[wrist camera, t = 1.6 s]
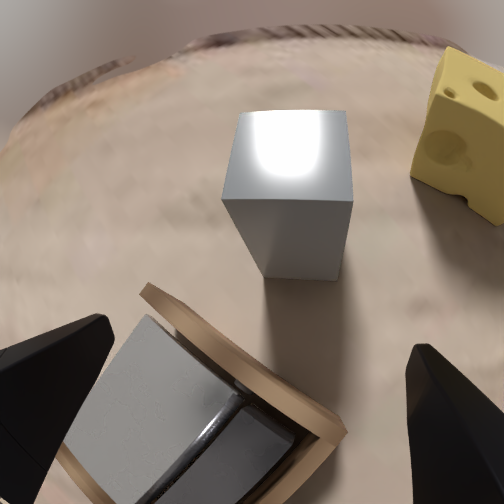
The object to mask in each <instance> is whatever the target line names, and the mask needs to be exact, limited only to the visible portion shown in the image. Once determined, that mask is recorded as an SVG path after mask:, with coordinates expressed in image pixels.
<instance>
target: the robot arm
mask: <svg viewBox="0 0 504 504" xmlns="http://www.w3.org/2000/svg"><path fill="white" fill-rule="evenodd" d="M114 340H115V336H114V333H113V330H112V327H111V324H110V321H109V319H108V317H107V316H106V315H102V314H97V313H96V314H93V315H90V316H87V317H85V318H82V319H80V320H77V321H74V322H72V323H69V324H67V325H64V326H62V327H59V328H56V329H54V330H51V331H49V332H46V333H43V334H41V335H38V336H36V337H33V338H30V339H28V340H25V341H23V342H20V343H17V344H15V345H12V346H10V347H8V348H4V349H2V350H0V498H3V499H4V500H5V501H7V502H8V503H9V504H34V501H35V499H36V497H37V495H38V492H39V490H40V488H41V486H42V484H43V482H44V479H45V477H46V475H47V472H48V470H49V468H50V466H51V464H52V462H53V460H54V458H55V456H56V454H57V452H58V450H59V448H60V446H61V444H62V442H63V440H64V438H65V436H66V434H67V433H68V431H69V429H70V427H71V425H72V423H73V421H74V419H75V418H76V416H77V414H78V412H79V410H80V408H81V407H82V405H83V403H84V401H85V399H86V398H87V396H88V394H89V392H90V391H91V389H92V387H93V385H94V384H95V382H96V380H97V378H98V376H99V374H100V372H101V369H102V367H103V365H104V363H105V361H106V359H107V356H108V354H109V352H110V350H111V348H112V346H113V344H114ZM405 377H406V398H407V427H408V436H409V446H410V456H411V469H412V485H413V504H504V413H503V412H502V411H501V410H500V409H499V408H498V407H497V406H496V405H495V404H494V403H493V402H492V401H491V400H490V399H489V398H488V397H487V396H486V395H485V394H484V393H482V392H481V391H480V390H479V389H478V388H477V387H476V386H475V385H474V384H473V383H472V382H471V381H470V380H469V379H468V378H467V377H465V376H464V375H463V374H462V373H461V372H460V371H459V370H458V369H457V368H456V367H455V366H453V365H452V364H451V363H450V362H449V361H448V360H447V359H446V358H445V357H444V356H442V355H441V354H440V353H439V352H438V351H437V350H436V349H435V348H434V347H432V346H431V345H430V344H427V343H426V344H415V345H414V347H413V349H412V352H411V355H410V358H409V361H408V364H407V367H406V373H405ZM0 504H2V503H1V502H0Z"/></svg>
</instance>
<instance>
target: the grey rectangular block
mask: <svg viewBox="0 0 504 504" xmlns="http://www.w3.org/2000/svg"><path fill="white" fill-rule="evenodd" d="M221 200H222V202H223V203H224V205H225V207H226V209H227V211H228V213H229V215H230V216H231V218H232V220H233V222H234V224H235V226H236V228H237V229H238V231H239V233H240V235H241V237H242V239H243V240H244V242H245V244H246V246H247V248H248V250H249V252H250V253H251V255H252V257H253V259H254V261H255V263H256V264H257V266H258V268H259V270H260V272H261V274H262V276H263V277H266V278H284V279H303V280H324V281H337V279H338V275H339V270H340V266H341V261H342V257H343V252H344V247H345V243H346V238H347V233H348V228H349V223H350V217H351V212H352V206H353V184H352V170H351V157H350V146H349V136H348V126H347V118H346V111H336V110H284V111H260V112H245V113H240V115H239V119H238V124H237V128H236V132H235V137H234V141H233V146H232V150H231V155H230V160H229V164H228V169H227V174H226V178H225V183H224V188H223V193H222V198H221Z"/></svg>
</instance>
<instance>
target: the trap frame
mask: <svg viewBox="0 0 504 504" xmlns="http://www.w3.org/2000/svg"><path fill="white" fill-rule="evenodd" d="M139 295H140V296H141V297H142V298H143V299H144V300H145V301H146V302H147V303H149V304H150V305H151V306H152V307H153V308H154V309H155V310H156V311H157V312H158V313H159V314H160V315H161V316H162V317H164V318H165V319H166V320H167V321H168V322H169V323H170V324H171V325H172V326H174V327H175V328H176V329H177V330H178V331H179V332H180V333H181V334H183V335H184V336H185V337H186V338H187V339H188V340H189V341H191V342H192V343H193V344H194V345H195V346H196V347H198V348H199V349H200V350H201V351H202V352H204V353H205V354H206V355H207V356H208V357H210V358H211V359H212V360H213V361H215V362H216V363H217V364H218V365H219V366H221V367H222V368H223V369H224V370H226V371H227V372H228V373H230V374H231V375H232V376H233V377H235V378H236V381H235V382H234V383H235V385H236V386H237V387H238V388H240V389H241V390H242V391H244V392H245V393H247V394H249V395H252V394H253V393H256V394H257V395H258V396H260V397H261V398H263V399H264V400H265V401H267V402H268V403H270V404H271V405H272V406H274V407H275V408H277V409H278V410H279V411H281V412H282V413H284V414H285V415H287V416H288V417H290V418H291V419H293V420H294V421H296V422H297V423H299V424H300V425H302V426H303V427H305V428H306V429H308V430H309V431H310V432H309V433H308V434H307V435H306V437H305V438H304V439H303V440H302V441H301V443H300V444H299V445H298V446H297V447H296V448H295V449H294V451H293V452H292V453H291V454H290V455H289V456H288V457H287V458H286V459H285V461H284V462H283V463H282V464H281V465H280V466H279V467H278V468H277V469H276V470H275V471H274V472H273V473H272V474H271V475H270V476H269V477H268V479H267V480H266V481H265V482H264V483H263V484H262V485H261V486H260V487H259V488H257V489H256V490H255V491H254V492H253V493H252V494H251V495H250V496H249V497H248V498H247V499H246V500H245V501H244V502H243V503H242V504H283V503H284V502H285V501H286V500H287V499H288V498H289V497H290V496H291V495H292V494H293V493H294V492H295V491H296V490H297V489H298V488H299V487H300V486H301V485H302V484H303V483H304V482H305V481H306V480H307V479H308V478H309V477H310V476H311V475H312V474H313V473H314V471H315V470H316V469H317V468H318V467H319V466H320V465H321V464H322V463H323V462H324V460H325V459H326V458H327V457H328V456H329V455H330V453H331V452H332V451H333V450H334V449H335V448H336V446H337V445H338V444H339V443H340V442H341V440H342V439H343V438H344V437H345V435H346V434H347V433H348V432H347V430H346V428H345V426H344V424H343V422H342V421H341V419H340V417H339V416H338V415H336V414H335V413H333V412H332V411H330V410H328V409H327V408H325V407H324V406H322V405H321V404H319V403H318V402H316V401H315V400H313V399H312V398H310V397H309V396H307V395H306V394H304V393H303V392H301V391H300V390H298V389H297V388H295V387H294V386H292V385H291V384H289V383H288V382H287V381H285V380H284V379H282V378H281V377H279V376H278V375H277V374H275V373H274V372H272V371H271V370H270V369H268V368H267V367H265V366H264V365H263V364H261V363H260V362H259V361H257V360H256V359H254V358H253V357H252V356H250V355H249V354H248V353H246V352H245V351H244V350H242V349H241V348H240V347H238V346H237V345H236V344H235V343H233V342H232V341H231V340H229V339H228V338H227V337H225V336H224V335H223V334H222V333H220V332H219V331H218V330H217V329H215V328H214V327H213V326H211V325H210V324H209V323H208V322H206V321H205V320H204V319H203V318H202V317H200V316H199V315H198V314H197V313H195V312H194V311H193V310H192V309H191V308H189V307H188V306H187V305H186V304H185V303H183V302H181V301H180V300H178V299H176V298H174V297H173V296H171V295H169V294H168V293H166V292H164V291H163V290H161V289H159V288H157V287H156V286H154V285H152V284H151V283H149V282H148V283H147V285H146V286H145V287H144V289H143V290H142V291H141V293H140V294H139ZM55 457H56V459H57V460H58V462H59V463H60V464H61V466H62V467H63V468H64V470H65V471H66V472H67V473H68V475H69V476H70V477H71V478H72V480H73V481H74V482H75V483H76V484H77V486H78V487H79V488H80V489H81V490H82V492H83V493H84V494H85V495H86V496H87V497H88V498H89V499H90V501H91V502H92V503H93V504H116V503H115V502H114V501H113V499H112V498H111V497H110V496H109V495H108V494H107V493H106V492H105V491H104V490H103V489H102V488H101V487H100V486H99V485H98V484H97V482H96V481H95V480H94V479H93V478H92V477H91V476H90V474H89V473H88V472H87V471H86V470H85V469H84V467H83V466H82V465H81V464H80V463H79V461H78V460H77V459H76V457H75V456H74V455H73V454H72V452H71V451H70V450H69V448H68V447H67V446H66V444H65V443H64V442H62V444H61V446H60V448H59V450H58V452H57V454H56V456H55ZM158 499H159V498H157V497H156V498H155V499H154V500H153V501H152V502H151V503H150V504H154V503H155V502H156V501H157V500H158Z"/></svg>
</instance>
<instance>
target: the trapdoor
mask: <svg viewBox="0 0 504 504" xmlns="http://www.w3.org/2000/svg"><path fill="white" fill-rule="evenodd" d="M240 393H241V392H239V391H238V390H237V389H235V388H234V387H233V386H232V385H230V384H229V383H228V382H227V381H225V380H224V379H223V378H222V377H220V376H219V375H218V374H217V373H215V372H214V371H213V370H212V369H210V368H209V367H208V366H207V365H206V364H204V363H203V362H202V361H201V360H200V359H199V358H197V357H196V356H195V355H194V354H193V353H192V352H190V351H189V350H188V349H187V348H186V347H185V346H184V345H182V344H181V343H180V342H179V341H178V340H177V339H176V338H175V337H173V336H172V335H171V334H170V333H169V332H168V331H167V330H166V329H165V328H164V327H163V326H161V325H160V324H159V323H158V322H157V321H156V320H155V319H154V318H153V317H152V316H150V315H147V314H145V315H144V317H143V318H142V319H141V321H140V322H139V324H138V325H137V326H136V328H135V329H134V330H133V332H132V333H131V335H130V336H129V337H128V339H127V340H126V342H125V343H124V344H123V346H122V347H121V349H120V350H119V351H118V353H117V354H116V356H115V357H114V358H113V360H112V361H111V363H110V364H109V366H108V367H107V368H106V370H105V371H104V373H103V374H102V376H101V377H100V379H99V380H98V382H97V383H96V385H95V386H94V387H93V389H92V390H91V392H90V393H89V395H88V396H87V398H86V399H85V401H84V403H83V405H82V407H81V408H80V410H79V412H78V414H77V416H76V418H75V419H74V421H73V423H72V425H71V427H70V429H69V431H68V433H67V434H66V436H65V438H64V440H63V442H64V443H65V444H66V446H67V447H68V448H69V450H70V451H71V452H72V454H73V455H74V456H75V457H76V459H77V460H78V461H79V463H80V464H81V465H82V466H83V467H84V469H85V470H86V471H87V472H88V473H89V474H90V476H91V477H92V478H93V479H94V480H95V481H96V482H97V484H98V485H99V486H100V487H101V488H102V489H103V490H104V491H105V492H106V493H107V494H108V495H109V496H110V497H111V498H112V499H113V501H114V502H115V503H116V504H150V503H151V502H152V501H153V500H154V499H155V498H156V497H157V496H158V495H159V494H160V493H161V492H162V491H163V490H164V489H165V488H166V487H167V486H168V485H169V484H170V483H171V482H172V481H173V480H174V479H175V478H176V477H177V476H178V475H179V474H180V473H181V472H182V471H183V470H184V469H185V467H186V466H187V465H188V464H189V463H190V462H191V461H192V460H193V459H194V458H195V457H196V456H197V454H198V453H199V452H200V451H201V450H202V449H203V448H204V447H205V446H206V444H207V443H208V442H209V441H210V440H211V439H212V438H213V437H214V435H215V434H216V433H217V432H218V431H219V430H220V428H221V427H222V426H223V425H224V424H225V423H226V421H227V420H228V419H229V418H230V417H231V415H232V414H233V413H234V412H235V411H236V409H237V408H238V407H239V406H240V405H241V403H242V402H243V401H244V400H245V398H244V397H243V396H242V395H241V394H240ZM295 434H296V433H294V432H293V431H291V430H290V429H288V428H287V427H285V426H284V425H282V424H281V423H279V422H278V421H276V420H275V419H274V418H272V417H271V416H269V415H268V414H267V413H265V412H264V411H262V410H261V409H260V408H258V407H257V406H255V405H254V404H253V403H252V404H250V405H248V406H246V407H244V408H242V409H241V410H240V411H239V413H238V414H237V415H236V416H235V417H234V418H233V420H232V421H231V422H230V423H229V424H228V426H227V427H226V428H225V429H224V430H223V431H222V433H221V434H220V435H219V436H218V437H217V438H216V439H215V441H214V442H213V443H212V444H211V445H210V446H209V447H208V448H207V450H206V451H205V452H204V453H203V454H202V455H201V456H200V457H199V458H198V459H197V460H196V462H195V463H194V464H193V465H192V466H191V467H190V468H189V469H188V470H187V471H186V472H185V473H184V474H183V475H182V476H181V477H180V478H179V479H178V481H177V482H176V483H175V484H174V485H173V486H172V487H171V488H170V489H169V490H168V491H167V492H166V493H165V494H164V495H163V496H162V497H161V498H160V499H158V500H157V501H156V502H155V503H154V504H235V503H236V502H237V501H238V500H240V499H241V498H242V497H243V496H244V495H245V494H246V493H247V492H248V491H249V490H250V489H251V488H252V487H253V486H254V485H255V484H256V483H257V482H258V481H259V480H260V479H261V478H262V477H263V476H264V475H265V474H266V473H267V472H268V471H269V470H270V469H271V468H272V467H273V466H274V465H275V463H276V462H277V461H278V460H279V459H280V458H281V457H282V456H283V455H284V454H285V453H286V451H287V450H288V449H289V448H290V447H291V446H292V444H293V441H294V438H295Z"/></svg>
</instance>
